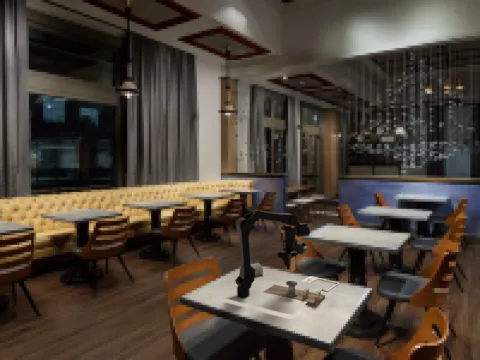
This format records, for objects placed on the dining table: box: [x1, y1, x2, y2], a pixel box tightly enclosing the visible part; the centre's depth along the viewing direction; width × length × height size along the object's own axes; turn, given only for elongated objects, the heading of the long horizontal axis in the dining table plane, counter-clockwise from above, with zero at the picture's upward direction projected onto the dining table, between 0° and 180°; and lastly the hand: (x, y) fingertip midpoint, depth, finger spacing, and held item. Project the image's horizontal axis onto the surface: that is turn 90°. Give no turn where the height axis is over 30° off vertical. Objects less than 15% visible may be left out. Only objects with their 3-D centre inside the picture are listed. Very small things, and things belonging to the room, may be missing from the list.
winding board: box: [263, 280, 326, 308], centre depth 171 cm, size 12×28×8 cm, turn 56°
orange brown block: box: [285, 256, 296, 273], centre depth 178 cm, size 3×5×7 cm, turn 147°
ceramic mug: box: [251, 262, 264, 279], centre depth 200 cm, size 11×8×8 cm
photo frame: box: [300, 276, 341, 293], centre depth 188 cm, size 15×1×18 cm
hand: (290, 267), depth 178 cm, fingers closed on orange brown block, 5 cm apart
